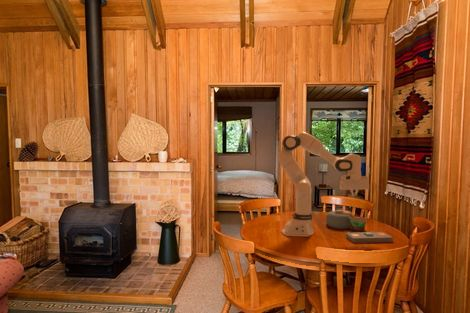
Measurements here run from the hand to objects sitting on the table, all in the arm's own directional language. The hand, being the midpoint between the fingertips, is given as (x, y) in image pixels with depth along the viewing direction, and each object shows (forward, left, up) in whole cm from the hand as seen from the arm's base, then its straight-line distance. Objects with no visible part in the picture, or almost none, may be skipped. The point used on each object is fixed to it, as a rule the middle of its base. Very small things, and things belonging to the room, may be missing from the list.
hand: (354, 195), depth 208 cm
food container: (+6, +7, -27) cm, 29 cm away
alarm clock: (-2, +21, -27) cm, 35 cm away
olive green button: (+4, -13, -25) cm, 28 cm away
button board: (+4, -13, -27) cm, 30 cm away
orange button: (+13, -13, -26) cm, 32 cm away
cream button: (-5, -13, -26) cm, 29 cm away
